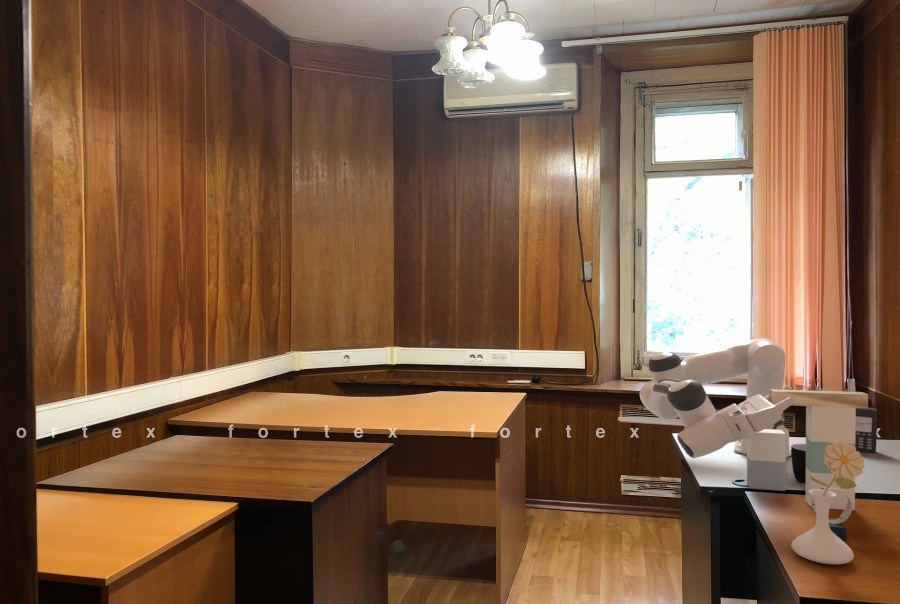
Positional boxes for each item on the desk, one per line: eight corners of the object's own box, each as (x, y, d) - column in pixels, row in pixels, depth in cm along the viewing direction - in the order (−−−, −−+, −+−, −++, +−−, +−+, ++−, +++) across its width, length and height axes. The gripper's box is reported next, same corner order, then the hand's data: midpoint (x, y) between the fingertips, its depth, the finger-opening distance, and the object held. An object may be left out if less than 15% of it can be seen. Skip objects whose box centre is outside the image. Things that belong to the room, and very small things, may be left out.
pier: (746, 483, 186) (747, 428, 186) (781, 485, 184) (781, 429, 184) (750, 488, 181) (750, 431, 181) (785, 490, 179) (785, 433, 179)
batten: (769, 402, 172) (769, 389, 172) (862, 405, 166) (862, 392, 166) (772, 404, 168) (772, 391, 168) (867, 408, 163) (868, 394, 163)
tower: (805, 500, 171) (806, 403, 170) (847, 503, 168) (848, 404, 168) (811, 507, 166) (811, 406, 165) (854, 510, 163) (855, 408, 163)
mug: (833, 486, 183) (833, 451, 183) (802, 487, 183) (802, 451, 182) (807, 474, 195) (807, 441, 195) (778, 474, 194) (778, 441, 194)
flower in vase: (795, 565, 131) (796, 443, 131) (787, 544, 142) (788, 431, 142) (869, 575, 127) (870, 448, 126) (856, 552, 137) (857, 436, 137)
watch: (808, 529, 151) (809, 482, 150) (848, 533, 148) (848, 486, 148) (814, 538, 145) (815, 490, 145) (855, 542, 143) (855, 493, 143)
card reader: (844, 450, 223) (845, 407, 223) (845, 447, 227) (845, 405, 226) (876, 454, 218) (876, 409, 218) (876, 451, 221) (876, 408, 221)
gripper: (737, 423, 182) (784, 400, 179) (752, 440, 162) (805, 414, 159) (725, 403, 182) (771, 380, 179) (738, 417, 163) (791, 392, 159)
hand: (787, 396), depth 169 cm, fingers open, 8 cm apart
